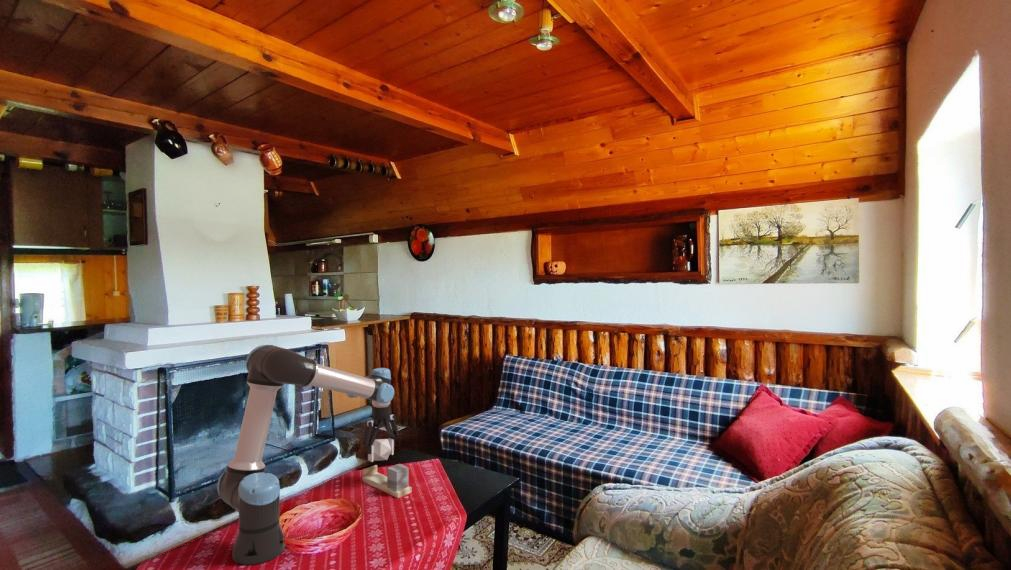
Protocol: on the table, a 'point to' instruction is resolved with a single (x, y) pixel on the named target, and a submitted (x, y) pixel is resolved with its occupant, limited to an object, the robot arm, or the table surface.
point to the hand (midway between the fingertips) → (381, 457)
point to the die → (381, 449)
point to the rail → (389, 480)
